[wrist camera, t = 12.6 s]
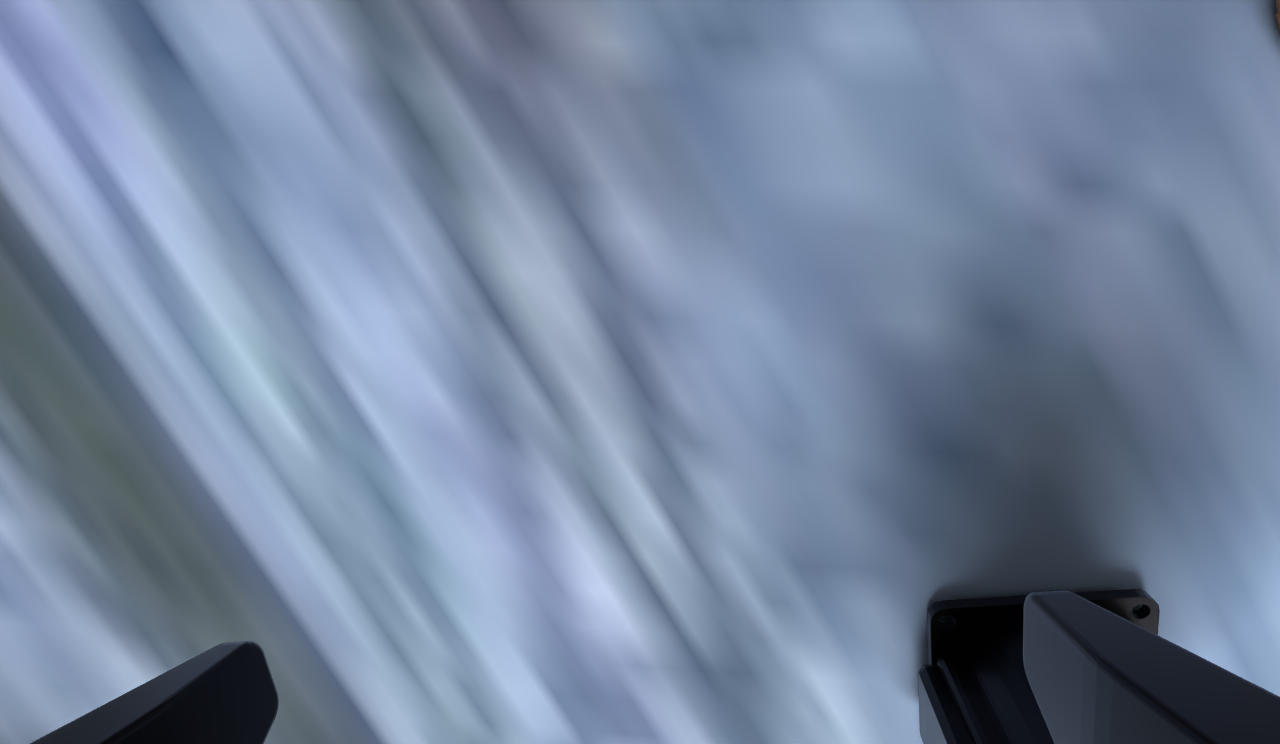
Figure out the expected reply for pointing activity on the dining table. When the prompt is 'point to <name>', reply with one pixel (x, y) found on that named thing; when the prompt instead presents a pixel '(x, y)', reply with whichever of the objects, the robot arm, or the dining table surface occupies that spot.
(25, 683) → the dining table surface
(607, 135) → the dining table surface
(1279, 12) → the sauce bottle
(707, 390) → the dining table surface
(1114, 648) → the robot arm
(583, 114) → the dining table surface
